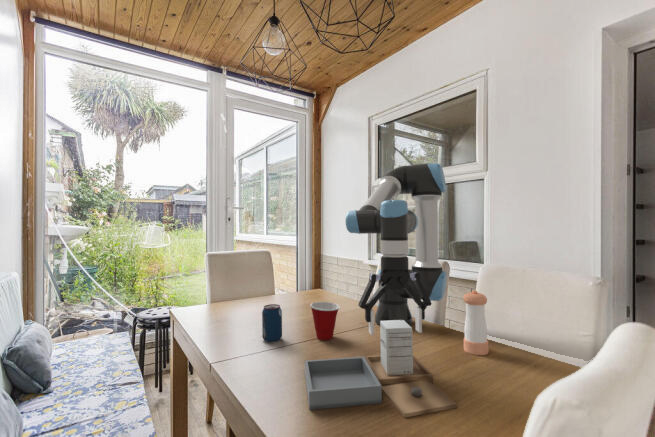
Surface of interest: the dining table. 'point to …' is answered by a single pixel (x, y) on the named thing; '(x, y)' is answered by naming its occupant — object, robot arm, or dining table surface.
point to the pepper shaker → (475, 324)
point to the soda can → (272, 323)
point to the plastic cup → (324, 319)
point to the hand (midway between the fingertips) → (395, 332)
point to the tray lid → (417, 398)
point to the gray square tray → (341, 383)
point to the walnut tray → (386, 380)
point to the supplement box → (396, 347)
